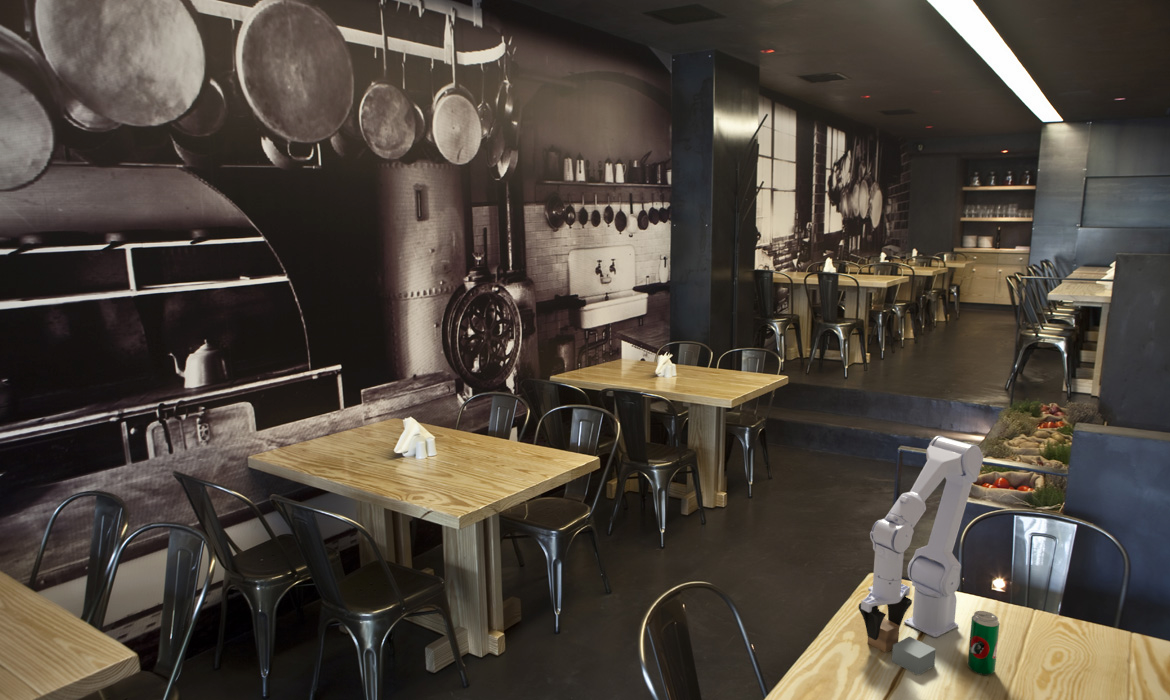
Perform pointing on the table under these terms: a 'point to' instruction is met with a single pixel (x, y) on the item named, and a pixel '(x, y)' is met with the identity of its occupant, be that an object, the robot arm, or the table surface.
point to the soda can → (983, 642)
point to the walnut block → (886, 636)
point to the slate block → (913, 655)
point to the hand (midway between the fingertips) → (883, 632)
